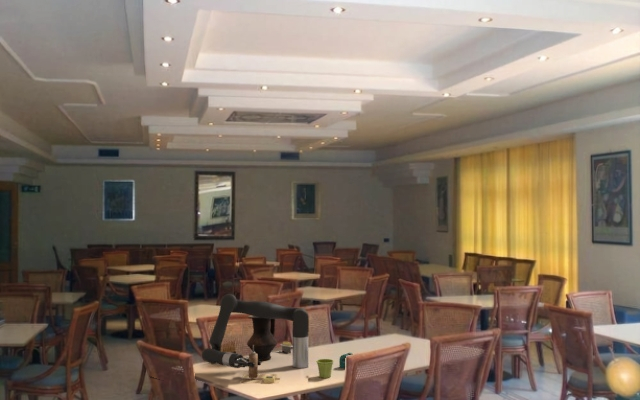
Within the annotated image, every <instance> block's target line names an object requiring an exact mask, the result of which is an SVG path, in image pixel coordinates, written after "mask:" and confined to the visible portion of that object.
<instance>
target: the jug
mask: <svg viewBox="0 0 640 400" xmlns="http://www.w3.org/2000/svg"><path fill="white" fill-rule="evenodd" d="M247 318H248V319H251V320H252V328H253V333H252V335H251V336H250V338H249V339H248V341H247V343H246V345H247V347H248V348H249V349H250V350H251V352H253V345H254V352H255V353H257V354H258V361H266V360H271V359H272V356H271V353H272V351H273V350H274V349H275V348H276V346H277V345H278V343H279V342H278V340H277V339H276V338H275V335H276V319H267V318H261V317H257V316H252V315H248V316H247Z"/></svg>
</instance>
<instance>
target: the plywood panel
mask: <svg viewBox="0 0 640 400" xmlns="http://www.w3.org/2000/svg"><path fill="white" fill-rule="evenodd" d="M265 376H275V381H274V383H273V384H279V383H280V380H281V376H282V373H278V374H277V373H276V374H275V373H268V374H266V373H261V374H260V373H259V374H258V377H257V378H249V373H248V374H247V373H244V374H243V376H242V379H241V380H240V382H239V384H265V383H264V378H265Z"/></svg>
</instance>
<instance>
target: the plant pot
mask: <svg viewBox="0 0 640 400" xmlns="http://www.w3.org/2000/svg"><path fill="white" fill-rule="evenodd" d="M334 361H335V360H333V359H330V358H320V359H316V364H317V368H318V375H319V377H320V378H323V379H328V378H331V377H332V370H333V364H334Z"/></svg>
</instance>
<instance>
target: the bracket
mask: <svg viewBox="0 0 640 400" xmlns="http://www.w3.org/2000/svg"><path fill="white" fill-rule="evenodd" d="M353 354H354V353H353V352H348V353H346V354H345V353H344V354H342V355H341V356H340V357H339V359H338V360H339V361H338V362H339V368H340V369H345V358H346V356H348V355H353Z"/></svg>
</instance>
